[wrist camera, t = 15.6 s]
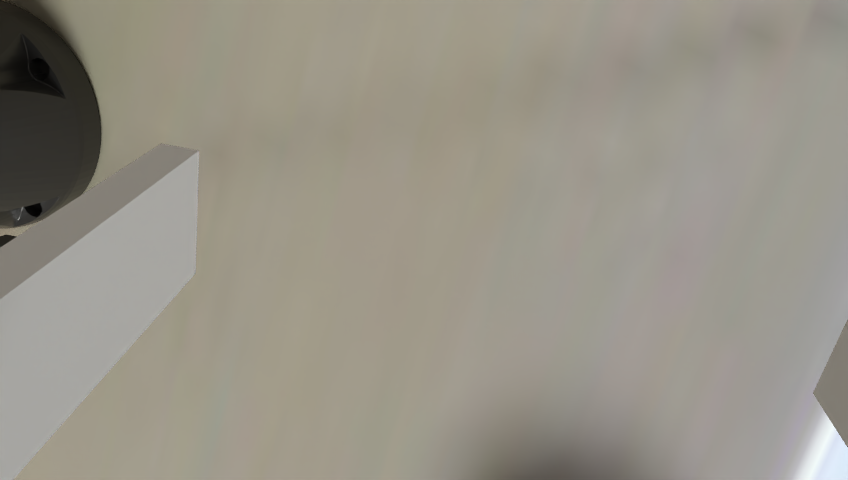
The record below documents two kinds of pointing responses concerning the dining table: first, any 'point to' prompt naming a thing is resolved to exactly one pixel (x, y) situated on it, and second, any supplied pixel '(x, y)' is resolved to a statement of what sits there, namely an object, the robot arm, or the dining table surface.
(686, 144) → the dining table surface
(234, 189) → the dining table surface
